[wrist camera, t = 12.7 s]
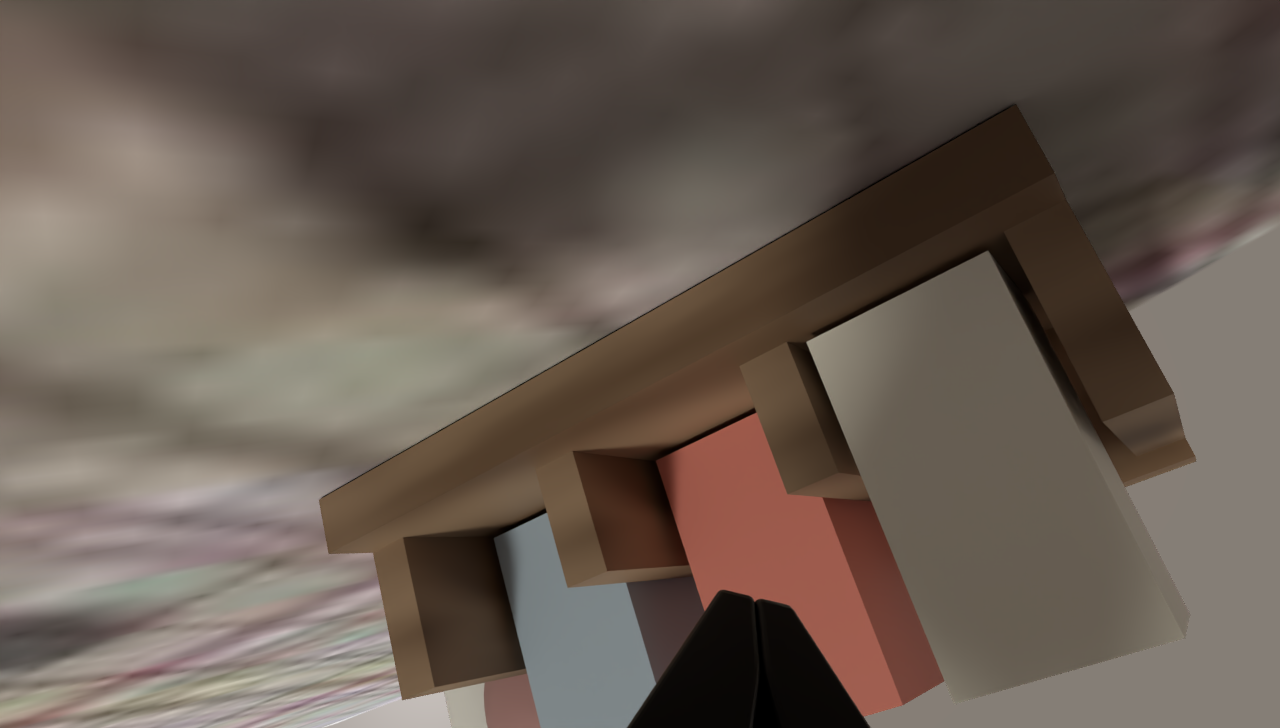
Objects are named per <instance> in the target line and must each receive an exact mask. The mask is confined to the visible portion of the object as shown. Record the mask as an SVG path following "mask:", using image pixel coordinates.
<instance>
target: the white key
mask: <svg viewBox="0 0 1280 728" xmlns="http://www.w3.org/2000/svg"><path fill="white" fill-rule="evenodd" d="M807 345H808V347H809V350H810V352H811V355H812V357H813V360H814V362H815V365H816V367H817V369H818V372H819V374H820V377H821V379H822V382H823V384H824V387H825V389H826V392H827V394H828V396H829V399H830V401H831V404H832V406H833V409H834V411H835V414H836V416H837V419H838V421H839V423H840V426H841V428H842V431H843V433H844V436H845V438H846V441H847V443H848V445H849V448H850V450H851V453H852V455H853V458H854V460H855V463H856V465H857V468H858V470H859V472H860V475H861V477H862V480H863V482H864V485H865V487H866V490H867V492H868V495H869V497H870V499H871V502H872V504H873V507H874V509H875V512H876V514H877V517H878V519H879V522H880V524H881V526H882V529H883V531H884V534H885V536H886V539H887V541H888V544H889V546H890V548H891V551H892V553H893V556H894V558H895V561H896V563H897V566H898V568H899V571H900V573H901V575H902V578H903V580H904V583H905V585H906V588H907V590H908V593H909V595H910V598H911V600H912V602H913V605H914V607H915V610H916V612H917V615H918V617H919V620H920V622H921V625H922V627H923V629H924V632H925V634H926V637H927V639H928V642H929V644H930V647H931V649H932V651H933V654H934V656H935V659H936V661H937V664H938V666H939V669H940V671H941V674H942V676H943V678H944V681H945V683H946V686H947V688H948V691H949V693H950V696H951V698H952V701H953V703H954V704H957V703H960V702H964V701H967V700H971V699H974V698H978V697H981V696H985V695H988V694H991V693H995V692H999V691H1002V690H1006V689H1009V688H1013V687H1016V686H1020V685H1023V684H1027V683H1030V682H1034V681H1037V680H1041V679H1044V678H1047V677H1051V676H1055V675H1058V674H1062V673H1065V672H1069V671H1072V670H1076V669H1079V668H1083V667H1086V666H1090V665H1093V664H1097V663H1100V662H1104V661H1107V660H1111V659H1114V658H1118V657H1121V656H1124V655H1128V654H1132V653H1135V652H1139V651H1142V650H1146V649H1149V648H1153V647H1156V646H1160V645H1163V644H1166V643H1170V642H1174V641H1177V640H1181V639H1184V638H1185V636H1186V631H1187V627H1188V622H1189V617H1190V613H1189V611H1188V609H1187V607H1186V605H1185V603H1184V601H1183V599H1182V598H1181V596H1180V594H1179V592H1178V590H1177V588H1176V586H1175V584H1174V582H1173V580H1172V578H1171V576H1170V574H1169V572H1168V570H1167V568H1166V566H1165V564H1164V562H1163V560H1162V558H1161V556H1160V554H1159V553H1158V551H1157V549H1156V547H1155V545H1154V543H1153V541H1152V539H1151V537H1150V535H1149V533H1148V531H1147V529H1146V527H1145V525H1144V523H1143V522H1142V520H1141V518H1140V516H1139V514H1138V512H1137V510H1136V508H1135V506H1134V504H1133V502H1132V500H1131V498H1130V496H1129V494H1128V493H1127V490H1126V488H1125V487H1124V485H1123V483H1122V481H1121V479H1120V477H1119V475H1118V473H1117V471H1116V469H1115V467H1114V465H1113V463H1112V461H1111V459H1110V457H1109V455H1108V454H1107V452H1106V450H1105V448H1104V446H1103V444H1102V442H1101V440H1100V438H1099V436H1098V434H1097V432H1096V430H1095V428H1094V426H1093V424H1092V422H1091V421H1090V419H1089V417H1088V415H1087V413H1086V411H1085V409H1084V407H1083V405H1082V403H1081V401H1080V399H1079V397H1078V395H1077V393H1076V391H1075V389H1074V387H1073V386H1072V384H1071V382H1070V380H1069V378H1068V376H1067V374H1066V372H1065V370H1064V368H1063V366H1062V364H1061V362H1060V360H1059V358H1058V356H1057V354H1056V353H1055V351H1054V349H1053V347H1052V345H1051V343H1050V341H1049V339H1048V337H1047V335H1046V333H1045V331H1044V329H1043V327H1042V325H1041V323H1040V321H1039V320H1038V318H1037V316H1036V314H1035V312H1034V310H1033V308H1032V306H1031V304H1030V303H1029V302H1028V300H1027V299H1026V298H1025V297H1024V295H1023V294H1022V293H1021V292H1020V290H1019V289H1018V288H1017V286H1016V285H1015V284H1014V283H1013V281H1012V280H1011V279H1010V278H1009V276H1008V275H1007V274H1006V273H1005V271H1004V270H1003V269H1002V268H1001V266H1000V265H999V264H998V262H997V261H996V260H995V259H994V257H993V256H992V255H991V254H990V252H989V251H986V252H984V253H982V254H980V255H978V256H976V257H974V258H972V259H970V260H968V261H966V262H964V263H962V264H960V265H958V266H956V267H954V268H952V269H950V270H948V271H946V272H944V273H942V274H940V275H938V276H936V277H934V278H932V279H930V280H928V281H927V282H925V283H923V284H921V285H919V286H917V287H915V288H913V289H911V290H909V291H907V292H905V293H903V294H901V295H899V296H897V297H895V298H893V299H891V300H889V301H887V302H885V303H883V304H881V305H879V306H877V307H875V308H873V309H871V310H869V311H867V312H865V313H863V314H861V315H859V316H857V317H855V318H853V319H851V320H849V321H847V322H845V323H843V324H841V325H839V326H837V327H835V328H833V329H831V330H829V331H827V332H825V333H823V334H821V335H819V336H817V337H815V338H813V339H811V340H809V341H807Z"/></svg>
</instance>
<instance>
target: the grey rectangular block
mask: <svg viewBox="0 0 1280 728" xmlns="http://www.w3.org/2000/svg"><path fill="white" fill-rule="evenodd" d="M494 542H495V546H496V550H497V554H498V558H499V562H500V566H501V570H502V574H503V578H504V582H505V586H506V590H507V594H508V598H509V602H510V606H511V610H512V614H513V618H514V622H515V626H516V630H517V634H518V638H519V642H520V646H521V650H522V654H523V658H524V662H525V667H526V671H527V675H528V679H529V683H530V687H531V691H532V695H533V699H534V703H535V707H536V711H537V715H538V719H539V723H540V727H541V728H627V727H628V725H629V724H630V722H631V721H632V719H633V718H634V716H635V715H636V713H637V712H638V710H639V709H640V707H641V706H642V704H643V703H644V701H645V700H646V698H647V697H648V695H649V694H650V692H651V691H652V689H653V688H654V686H655V685H656V683H657V682H658V680H659V679H660V677H661V676H662V674H663V673H664V671H665V670H666V668H667V667H668V665H669V664H670V662H671V661H672V659H673V658H674V656H675V655H676V653H677V652H678V650H679V649H680V647H681V646H682V644H683V643H684V641H685V640H686V638H687V637H688V635H689V634H690V632H691V631H692V629H693V628H694V626H695V625H696V624H697V622H698V621H699V619H700V618H701V616H702V615H703V613H704V612H705V611H704V608H703V605H702V602H701V598H700V595H699V592H698V589H697V586H696V583H695V580H694V577H693V576H692V577H681V578H670V579H660V580H649V581H638V582H627V583H616V584H606V585H595V586H584V587H573V588H567V584H566V580H565V577H564V573H563V569H562V566H561V562H560V558H559V555H558V551H557V547H556V544H555V540H554V537H553V533H552V529H551V526H550V522H549V518H548V515H547V513H545V514H543V515H541V516H539V517H537V518H535V519H533V520H531V521H529V522H527V523H525V524H522V525H520V526H518V527H516V528H514V529H512V530H510V531H508V532H506V533H504V534H502V535H499V536H497V537H495V538H494Z"/></svg>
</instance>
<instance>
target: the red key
mask: <svg viewBox="0 0 1280 728" xmlns="http://www.w3.org/2000/svg"><path fill="white" fill-rule="evenodd" d="M656 463H657V466H658V469H659V472H660V475H661V478H662V481H663V485H664V488H665V491H666V494H667V497H668V500H669V503H670V506H671V509H672V512H673V515H674V518H675V521H676V525H677V528H678V531H679V534H680V537H681V540H682V543H683V546H684V549H685V552H686V555H687V558H688V562H689V565H690V568H691V571H692V574H693V577H694V580H695V583H696V586H697V589H698V592H699V595H700V598H701V602H702V605H703V608H704V611H705V610H706V609H707V607H708V606H709V604H710V603H711V601H712V600H713V598H714V597H715V595H716V594H717V592H718V591H720V590H728V591H732V592H736V593H741V594H745V595H749V596H751V597H752V598H753V599H754V602H755V601H756V600H758V599H766V600H770V601H774V602H778V603H782V604H787V605H789V606H790V607H791V608H792V609H793V610H794V611H795V612H796V614H797V615H798V617H799V619H800V620H801V622H802V623H803V625H804V626H805V628H806V629H807V631H808V632H809V634H810V635H811V637H812V639H813V640H814V642H815V643H816V645H817V646H818V648H819V649H820V651H821V652H822V654H823V655H824V657H825V659H826V660H827V662H828V663H829V665H830V666H831V668H832V669H833V671H834V672H835V674H836V675H837V677H838V679H839V680H840V682H841V683H842V685H843V686H844V688H845V689H846V691H847V692H848V694H849V695H850V697H851V698H852V700H853V702H854V703H855V705H856V706H857V708H858V709H859V711H860V712H861V714H862V715H863V717H864V716H867V715H871V714H874V713H878V712H881V711H884V710H888V709H891V708H895V707H898V706H902V705H904V704H905V703H907V702H909V701H911V700H913V699H914V698H916V697H918V696H919V695H921V694H923V693H925V692H926V691H928V690H930V689H932V688H933V687H935V686H937V685H938V684H940V683H942V682H944V678H943V676H942V674H941V671H940V669H939V666H938V664H937V661H936V659H935V656H934V654H933V651H932V649H931V647H930V644H929V642H928V639H927V637H926V634H925V632H924V629H923V627H922V625H921V622H920V620H919V617H918V615H917V612H916V610H915V607H914V605H913V602H912V600H911V598H910V595H909V593H908V590H907V588H906V585H905V583H904V580H903V578H902V575H901V573H900V571H899V568H898V566H897V563H896V561H895V558H894V556H893V553H892V551H891V548H890V546H889V544H888V541H887V539H886V536H885V534H884V531H883V529H882V526H881V524H880V522H879V519H878V517H877V514H876V512H875V509H874V507H873V504H872V502H871V501H862V500H850V499H837V498H825V497H813V496H801V495H788V494H787V492H786V489H785V487H784V484H783V481H782V479H781V476H780V473H779V471H778V468H777V465H776V463H775V460H774V457H773V455H772V452H771V449H770V447H769V444H768V441H767V439H766V436H765V433H764V431H763V428H762V425H761V423H760V420H759V417H758V415H757V413H755V414H752V415H750V416H748V417H746V418H744V419H742V420H740V421H738V422H736V423H734V424H732V425H729V426H727V427H725V428H723V429H721V430H719V431H717V432H715V433H713V434H711V435H709V436H706V437H704V438H702V439H700V440H698V441H696V442H694V443H692V444H690V445H688V446H686V447H683V448H681V449H679V450H677V451H675V452H673V453H671V454H669V455H667V456H665V457H663V458H660V459H658V460H656Z"/></svg>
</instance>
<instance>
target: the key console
mask: <svg viewBox="0 0 1280 728" xmlns="http://www.w3.org/2000/svg"><path fill="white" fill-rule="evenodd" d="M986 251H989V252H990V254H991V255H992V256H993V257H994V259H995V260H996V261H997V262H998V264H999V265H1000V266H1001V268H1002V269H1003V270H1004V271H1005V273H1006V274H1007V275H1008V276H1009V278H1010V279H1011V280H1012V281H1013V283H1014V284H1015V285H1016V286H1017V288H1018V289H1019V290H1020V292H1021V293H1022V294H1023V295H1024V297H1025V298H1026V299H1027V300H1028V302H1029V303H1030V304H1031V306H1032V308H1033V310H1034V312H1035V314H1036V316H1037V318H1038V320H1039V321H1040V323H1041V325H1042V327H1043V329H1044V331H1045V333H1046V335H1047V337H1048V339H1049V341H1050V343H1051V345H1052V347H1053V349H1054V351H1055V353H1056V354H1057V356H1058V358H1059V360H1060V362H1061V364H1062V366H1063V368H1064V370H1065V372H1066V374H1067V376H1068V378H1069V380H1070V382H1071V384H1072V386H1073V387H1074V389H1075V391H1076V393H1077V395H1078V397H1079V399H1080V401H1081V403H1082V405H1083V407H1084V409H1085V411H1086V413H1087V415H1088V417H1089V419H1090V421H1091V422H1092V424H1093V426H1094V428H1095V430H1096V432H1097V434H1098V436H1099V438H1100V440H1101V442H1102V444H1103V446H1104V448H1105V450H1106V452H1107V454H1108V455H1109V457H1110V459H1111V461H1112V463H1113V465H1114V467H1115V469H1116V471H1117V473H1118V475H1119V477H1120V479H1121V481H1122V483H1123V485H1124V487H1127V486H1130V485H1132V484H1135V483H1138V482H1141V481H1143V480H1146V479H1149V478H1152V477H1154V476H1157V475H1160V474H1163V473H1165V472H1168V471H1171V470H1174V469H1176V468H1179V467H1182V466H1185V465H1187V464H1190V463H1193V462H1196V458H1195V455H1194V453H1193V451H1192V449H1191V448H1190V446H1189V444H1188V442H1187V440H1186V438H1185V435H1184V431H1183V427H1182V423H1181V419H1180V415H1179V411H1178V407H1177V404H1176V399H1175V395H1174V393H1173V391H1172V389H1171V387H1170V385H1169V384H1168V382H1167V380H1166V378H1165V376H1164V375H1163V373H1162V371H1161V369H1160V367H1159V366H1158V364H1157V362H1156V361H1155V359H1154V357H1153V355H1152V353H1151V351H1150V349H1149V348H1148V346H1147V344H1146V342H1145V340H1144V339H1143V337H1142V335H1141V334H1140V331H1139V330H1138V328H1137V326H1136V325H1135V323H1134V321H1133V319H1132V317H1131V315H1130V314H1129V312H1128V310H1127V308H1126V306H1125V305H1124V303H1123V301H1122V299H1121V297H1120V296H1119V294H1118V292H1117V290H1116V288H1115V287H1114V285H1113V283H1112V281H1111V279H1110V278H1109V276H1108V274H1107V272H1106V270H1105V269H1104V267H1103V265H1102V263H1101V261H1100V260H1099V258H1098V256H1097V254H1096V252H1095V251H1094V249H1093V247H1092V245H1091V244H1090V242H1089V240H1088V238H1087V236H1086V235H1085V233H1084V231H1083V229H1082V227H1081V226H1080V224H1079V222H1078V220H1077V218H1076V217H1075V215H1074V213H1073V211H1072V209H1071V208H1070V206H1069V204H1068V202H1067V200H1066V198H1065V196H1064V194H1063V191H1062V189H1061V187H1060V184H1059V182H1058V180H1057V177H1056V175H1055V173H1054V171H1053V169H1052V168H1051V166H1050V164H1049V162H1048V160H1047V159H1046V157H1045V155H1044V153H1043V151H1042V150H1041V148H1040V146H1039V144H1038V142H1037V141H1036V139H1035V137H1034V135H1033V133H1032V132H1031V130H1030V128H1029V126H1028V125H1027V123H1026V121H1025V119H1024V117H1023V116H1022V114H1021V112H1020V110H1019V108H1018V107H1017V105H1014V106H1012V107H1011V108H1009V109H1007V110H1005V111H1003V112H1002V113H1000V114H998V115H996V116H995V117H993V118H991V119H989V120H988V121H986V122H984V123H982V124H981V125H979V126H977V127H975V128H974V129H972V130H970V131H968V132H966V133H965V134H963V135H961V136H959V137H958V138H956V139H954V140H952V141H951V142H949V143H947V144H945V145H944V146H942V147H940V148H938V149H937V150H935V151H933V152H931V153H929V154H928V155H926V156H924V157H922V158H921V159H919V160H917V161H915V162H914V163H912V164H910V165H908V166H907V167H905V168H903V169H901V170H900V171H898V172H896V173H894V174H892V175H891V176H889V177H887V178H885V179H884V180H882V181H880V182H878V183H877V184H875V185H873V186H871V187H870V188H868V189H866V190H864V191H863V192H861V193H859V194H857V195H855V196H854V197H852V198H850V199H848V200H847V201H845V202H843V203H841V204H840V205H838V206H836V207H834V208H833V209H831V210H829V211H827V212H826V213H824V214H822V215H820V216H818V217H817V218H815V219H813V220H811V221H810V222H808V223H806V224H804V225H803V226H801V227H799V228H797V229H796V230H794V231H792V232H790V233H789V234H787V235H785V236H783V237H781V238H780V239H778V240H776V241H774V242H773V243H771V244H769V245H767V246H766V247H764V248H762V249H760V250H759V251H757V252H755V253H753V254H752V255H750V256H748V257H746V258H744V259H743V260H741V261H739V262H737V263H736V264H734V265H732V266H730V267H729V268H727V269H725V270H723V271H722V272H720V273H718V274H716V275H715V276H713V277H711V278H709V279H707V280H706V281H704V282H702V283H700V284H699V285H697V286H695V287H693V288H692V289H690V290H688V291H686V292H685V293H683V294H681V295H679V296H677V297H676V298H674V299H672V300H670V301H669V302H667V303H665V304H663V305H662V306H660V307H658V308H656V309H655V310H653V311H651V312H649V313H648V314H646V315H644V316H642V317H640V318H639V319H637V320H635V321H633V322H632V323H630V324H628V325H626V326H625V327H623V328H621V329H619V330H618V331H616V332H614V333H612V334H611V335H609V336H607V337H605V338H603V339H602V340H600V341H598V342H596V343H595V344H593V345H591V346H589V347H588V348H586V349H584V350H582V351H581V352H579V353H577V354H575V355H574V356H572V357H570V358H568V359H566V360H565V361H563V362H561V363H559V364H558V365H556V366H554V367H552V368H551V369H549V370H547V371H545V372H544V373H542V374H540V375H538V376H537V377H535V378H533V379H531V380H529V381H528V382H526V383H524V384H522V385H521V386H519V387H517V388H515V389H514V390H512V391H510V392H508V393H507V394H505V395H503V396H501V397H500V398H498V399H496V400H494V401H492V402H491V403H489V404H487V405H485V406H484V407H482V408H480V409H478V410H477V411H475V412H473V413H471V414H470V415H468V416H466V417H464V418H463V419H461V420H459V421H457V422H455V423H454V424H452V425H450V426H448V427H447V428H445V429H443V430H441V431H440V432H438V433H436V434H434V435H433V436H431V437H429V438H427V439H426V440H424V441H422V442H420V443H418V444H417V445H415V446H413V447H411V448H410V449H408V450H406V451H404V452H403V453H401V454H399V455H397V456H396V457H394V458H392V459H390V460H389V461H387V462H385V463H383V464H381V465H380V466H378V467H376V468H374V469H373V470H371V471H369V472H367V473H366V474H364V475H362V476H360V477H359V478H357V479H355V480H353V481H352V482H350V483H348V484H346V485H344V486H343V487H341V488H339V489H337V490H336V491H334V492H332V493H330V494H329V495H327V496H325V497H323V498H322V499H320V500H319V503H320V508H321V514H322V519H323V525H324V530H325V536H326V541H327V547H328V552H329V554H340V553H373V555H374V560H375V565H376V570H377V575H378V580H379V585H380V590H381V595H382V600H383V605H384V610H385V615H386V620H387V625H388V630H389V635H390V640H391V645H392V650H393V655H394V660H395V665H396V671H397V676H398V681H399V686H400V691H401V696H402V700H405V699H410V698H415V697H419V696H424V695H429V694H434V693H438V692H443V691H448V690H453V689H457V688H462V687H467V686H471V685H476V684H481V683H485V682H490V681H495V680H500V679H504V678H509V677H514V676H518V675H523V674H527V671H526V667H525V662H524V658H523V654H522V650H521V646H520V642H519V638H518V634H517V630H516V626H515V622H514V618H513V614H512V610H511V606H510V602H509V598H508V594H507V590H506V586H505V582H504V578H503V574H502V570H501V566H500V562H499V558H498V554H497V550H496V546H495V542H494V538H495V537H497V536H499V535H502V534H504V533H506V532H508V531H510V530H512V529H514V528H516V527H518V526H520V525H522V524H525V523H527V522H529V521H531V520H533V519H535V518H537V517H539V516H541V515H543V514H545V513H547V515H548V518H549V522H550V526H551V529H552V533H553V537H554V540H555V544H556V547H557V551H558V555H559V558H560V562H561V566H562V569H563V573H564V577H565V580H566V584H567V588H573V587H584V586H595V585H606V584H616V583H627V582H638V581H649V580H660V579H670V578H681V577H692V576H693V574H692V571H691V568H690V565H689V562H688V558H687V555H686V552H685V549H684V546H683V543H682V540H681V537H680V534H679V531H678V528H677V525H676V521H675V518H674V515H673V512H672V509H671V506H670V503H669V500H668V497H667V494H666V491H665V488H664V485H663V481H662V478H661V475H660V472H659V469H658V466H657V463H656V460H658V459H660V458H663V457H665V456H667V455H669V454H671V453H673V452H675V451H677V450H679V449H681V448H683V447H686V446H688V445H690V444H692V443H694V442H696V441H698V440H700V439H702V438H704V437H706V436H709V435H711V434H713V433H715V432H717V431H719V430H721V429H723V428H725V427H727V426H729V425H732V424H734V423H736V422H738V421H740V420H742V419H744V418H746V417H748V416H750V415H752V414H755V413H757V415H758V417H759V420H760V423H761V425H762V428H763V431H764V433H765V436H766V439H767V441H768V444H769V447H770V449H771V452H772V455H773V457H774V460H775V463H776V465H777V468H778V471H779V473H780V476H781V479H782V481H783V484H784V487H785V489H786V492H787V494H788V495H801V496H813V497H825V498H837V499H850V500H862V501H871V499H870V497H869V495H868V492H867V490H866V487H865V485H864V482H863V480H862V477H861V475H860V472H859V470H858V468H857V465H856V463H855V460H854V458H853V455H852V453H851V450H850V448H849V445H848V443H847V441H846V438H845V436H844V433H843V431H842V428H841V426H840V423H839V421H838V419H837V416H836V414H835V411H834V409H833V406H832V404H831V401H830V399H829V396H828V394H827V392H826V389H825V387H824V384H823V382H822V379H821V377H820V374H819V372H818V369H817V367H816V365H815V362H814V360H813V357H812V355H811V352H810V350H809V347H808V345H807V341H809V340H811V339H813V338H815V337H817V336H819V335H821V334H823V333H825V332H827V331H829V330H831V329H833V328H835V327H837V326H839V325H841V324H843V323H845V322H847V321H849V320H851V319H853V318H855V317H857V316H859V315H861V314H863V313H865V312H867V311H869V310H871V309H873V308H875V307H877V306H879V305H881V304H883V303H885V302H887V301H889V300H891V299H893V298H895V297H897V296H899V295H901V294H903V293H905V292H907V291H909V290H911V289H913V288H915V287H917V286H919V285H921V284H923V283H925V282H927V281H928V280H930V279H932V278H934V277H936V276H938V275H940V274H942V273H944V272H946V271H948V270H950V269H952V268H954V267H956V266H958V265H960V264H962V263H964V262H966V261H968V260H970V259H972V258H974V257H976V256H978V255H980V254H982V253H984V252H986Z"/></svg>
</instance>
